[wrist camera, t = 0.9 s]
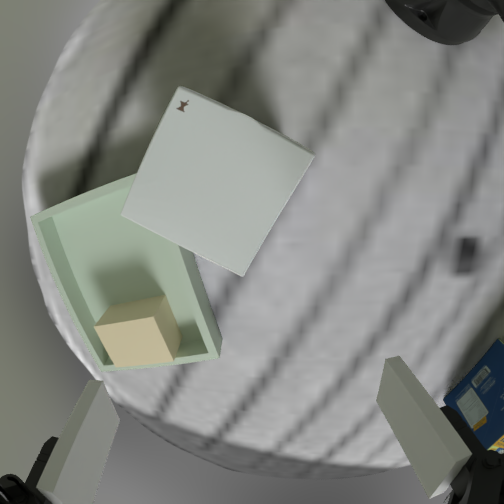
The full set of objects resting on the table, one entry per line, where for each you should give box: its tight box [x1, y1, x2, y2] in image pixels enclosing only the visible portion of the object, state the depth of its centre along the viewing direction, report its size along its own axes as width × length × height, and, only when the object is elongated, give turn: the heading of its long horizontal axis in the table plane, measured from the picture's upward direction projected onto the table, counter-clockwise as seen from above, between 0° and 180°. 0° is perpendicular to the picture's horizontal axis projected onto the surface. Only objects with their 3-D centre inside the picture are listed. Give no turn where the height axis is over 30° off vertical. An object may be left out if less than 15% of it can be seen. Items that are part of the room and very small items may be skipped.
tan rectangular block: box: [94, 295, 183, 367], centre depth 34 cm, size 8×6×5 cm
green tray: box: [30, 173, 222, 372], centre depth 33 cm, size 17×22×4 cm
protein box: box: [443, 338, 504, 454], centre depth 35 cm, size 10×15×16 cm
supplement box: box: [121, 85, 315, 277], centre depth 24 cm, size 9×9×15 cm
